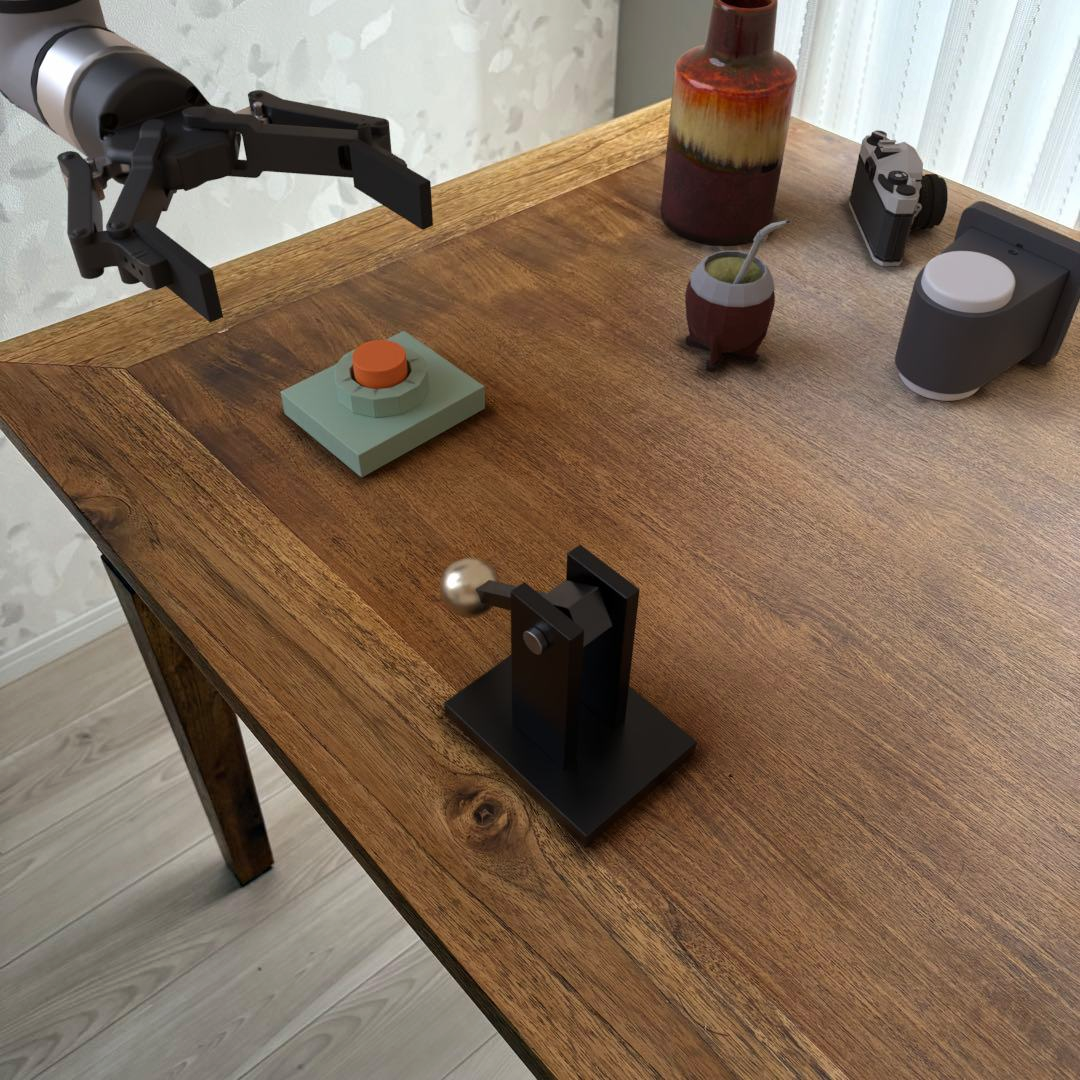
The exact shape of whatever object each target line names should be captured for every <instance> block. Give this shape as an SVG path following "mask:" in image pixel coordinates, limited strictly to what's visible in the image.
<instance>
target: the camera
mask: <svg viewBox="0 0 1080 1080" xmlns="http://www.w3.org/2000/svg"><path fill="white" fill-rule="evenodd" d="M887 136H888V134H887V132H885V131H883V130H877V129H876V130H874V131H871V134H866V135H865V136H864V138H862V141H861V144H860V149H859V153H858V159H857V163H856V168H855V172H854V178H853V182H852V186H851V190H850V195H849V198H848V206H849V209H850V211H851V213H852V216H853V218H854V220H855V222H856V225H857V227H858V229H859V232H860V234H861V236H862V239H863V241H864V243H865V246H866V248H867V250H868V252H869V254H870V257H871V259H872V261H873V262H874V263H876V264H878V265H879V266H881V267H900V265H901V263H902V262H903V258H904V256H905V250H906V248H907V244H908V239H909V235H910V232H915V231H916V230H917V229H920V230H924V231H925V230H932V229H934V228H935V227H937V226H940V225H941V224H942V222H943V221H944V219H945V215H946V213H947V207H948V198H949V195H948V194H949V193H948V192H949V191H948V185H947V182H946V180H945V178H943V177H940V176H939V175H938V174H936V173H925V174H924V173H923V172H924V162H923V161H922V159H921V157H920V155H919V153H918V152H917V150H916V148H915V147H914V146H912V145H910V144H909V143H907V142H905V141H902V142H898V143H897V140H896V139H890V138H888V137H887Z"/></svg>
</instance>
